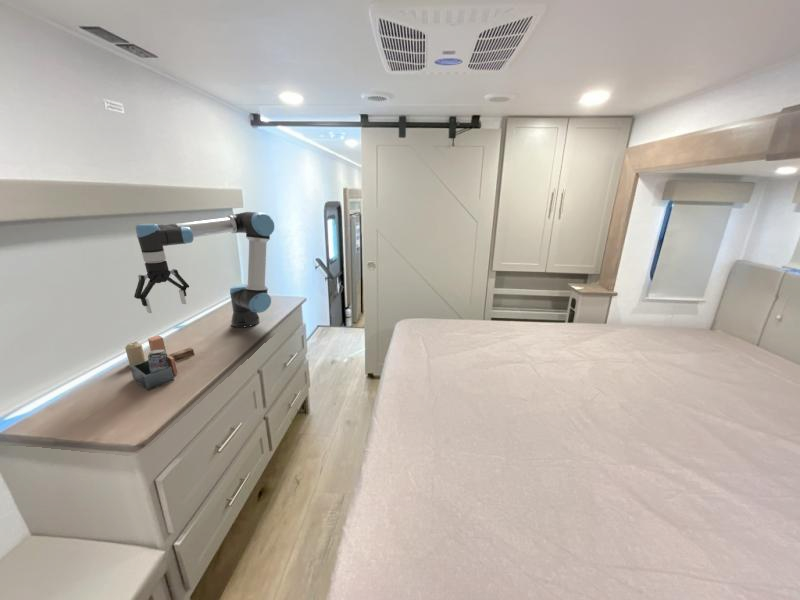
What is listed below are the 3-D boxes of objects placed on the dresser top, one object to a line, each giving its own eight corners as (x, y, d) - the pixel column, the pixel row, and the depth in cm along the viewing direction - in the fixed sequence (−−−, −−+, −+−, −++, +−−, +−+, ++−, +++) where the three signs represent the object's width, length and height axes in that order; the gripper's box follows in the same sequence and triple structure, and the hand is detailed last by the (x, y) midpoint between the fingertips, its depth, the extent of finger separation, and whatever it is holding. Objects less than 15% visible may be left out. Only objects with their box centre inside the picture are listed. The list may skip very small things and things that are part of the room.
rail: (191, 353, 148) (190, 347, 147) (194, 355, 146) (193, 349, 145) (151, 367, 135) (149, 360, 134) (154, 369, 133) (152, 363, 133)
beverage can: (148, 383, 123) (142, 356, 119) (155, 374, 130) (149, 348, 126) (167, 381, 125) (161, 354, 121) (173, 372, 132) (167, 346, 128)
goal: (159, 369, 133) (156, 357, 131) (174, 380, 126) (171, 367, 124) (133, 379, 126) (129, 366, 124) (147, 390, 119) (144, 377, 117)
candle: (144, 359, 142) (138, 339, 139) (147, 363, 138) (142, 342, 135) (128, 363, 137) (122, 343, 134) (131, 367, 134) (126, 346, 131)
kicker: (164, 360, 139) (158, 335, 136) (181, 371, 131) (175, 344, 127) (154, 364, 136) (147, 338, 132) (170, 375, 128) (164, 348, 124)
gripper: (183, 255, 144) (192, 298, 151) (114, 265, 124) (129, 314, 131) (191, 257, 140) (201, 301, 147) (122, 267, 120) (137, 318, 127)
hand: (167, 307), depth 139 cm, fingers open, 13 cm apart
